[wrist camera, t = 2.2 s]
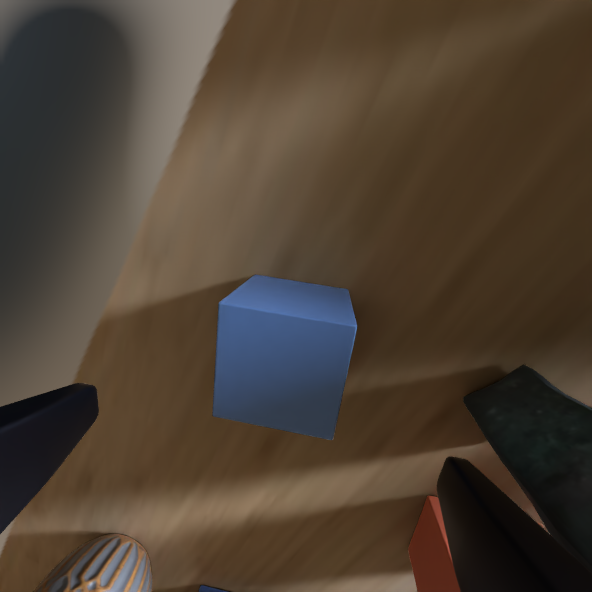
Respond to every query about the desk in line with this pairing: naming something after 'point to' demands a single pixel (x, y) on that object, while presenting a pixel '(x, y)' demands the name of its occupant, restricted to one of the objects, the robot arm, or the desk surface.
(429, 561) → the rust block
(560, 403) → the turquoise patterned animal figure
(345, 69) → the desk surface
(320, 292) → the blue block
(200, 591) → the blue tray
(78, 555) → the vase
